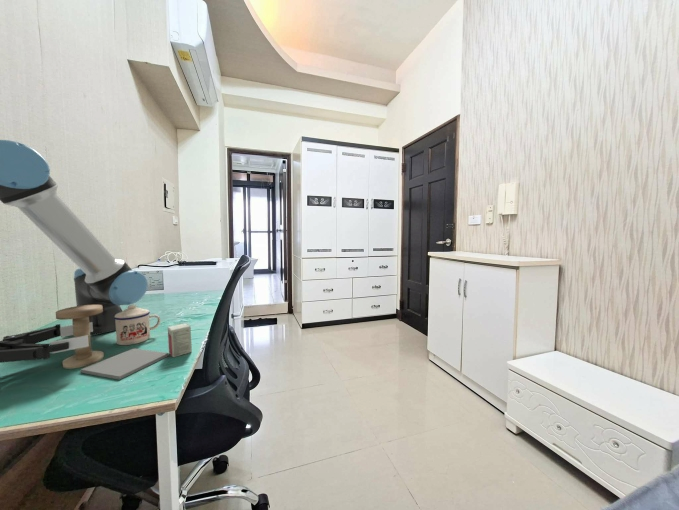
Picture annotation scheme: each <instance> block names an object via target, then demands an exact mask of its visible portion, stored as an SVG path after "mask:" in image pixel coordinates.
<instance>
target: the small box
mask: <svg viewBox="0 0 679 510" xmlns="http://www.w3.org/2000/svg"><path fill="white" fill-rule="evenodd" d="M191 331H192V328H191V325H190V324H188V323H187V322H186V323H185V322H184V323H181V324H175V325H172V326H167V338H168V341H167V342H168V354H169V355H170V356H171V358H176V357H179V356H183V355H186V354H190V353H192V332H191Z"/></svg>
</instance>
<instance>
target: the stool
mask: <svg viewBox="0 0 679 510" xmlns="http://www.w3.org/2000/svg"><path fill="white" fill-rule="evenodd" d="M102 312H103V306H102V305H83V306H77V305H76V306H71V307H66V308H61V309H59V310H57V311H55V319H57V320H62V321H63V320H71V321H72V324H73V335H72V336H73V338H75V337H80V336H86V335H88V344H89V346H88V347H83V348H78V349H74V355H71V356H69V357H67V358H65V359H64V360H62V368H63V369H67V370H68V369H69V370H70V369H79V368H83V367H84V368H85V367H88V366H91V365H93V364H96V363H98V362H101V361H103V360H104V352H103V351H102V350H92V341H91V335H90V325H89V316H93V315H96V314H99V313H102Z"/></svg>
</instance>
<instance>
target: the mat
mask: <svg viewBox="0 0 679 510" xmlns="http://www.w3.org/2000/svg"><path fill="white" fill-rule="evenodd" d="M169 355H170V353H169V352H163V351H155V350H149V349H148V350H147V349H143V348H135V347H133V348H131V349H128V350H126V351H123V352H121V353H118V354H116V355H114V356H111V357H108V358H106V359H102V360H100V361H98V362H96V363H94V364H91V365H88V366H85V367H84V368H83V367H82V368H81V369H80V374H81V373H82V374H87V375H90V376H91V375H93V376H98V377H103V378H109V379H114V380H119V381H120V380H122V379H124V378H126V377H129V376H130V375H132V374H134V373H137V372H139V371H141V370H143V369H145V368H147V367H149V366H151V365H153V364H155V363H157V362H159V361H161V360H163V359H165V358H167V357H169Z"/></svg>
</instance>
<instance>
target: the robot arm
mask: <svg viewBox="0 0 679 510" xmlns="http://www.w3.org/2000/svg"><path fill="white" fill-rule="evenodd" d="M50 170H51V169H50V166H49V164H48V162H47V160H46V159H45V158H44V156H42V155H41V153H39V152H38V151H36V150H35V149H34V148H32V147H30V146H28V145H26V144H24V143H20V142H17V141H14V140H9V139H8V140H7V139H0V202H1V203H3V205H6V206H11V207H16V208H18V209H19V210H20V211H21V212H22V213H23V214H24V215H25V216H26V217H27V218H28V219H29V220H30V221H31V222H32V224H34V225H35V226H36V227H37V228H38V229H39V230H40V231H41V232H43V234H44V235H45V236H46V237H47V238H49V240H50V241H51V242H52V243H54V245H55V246H56V247H58V248H59V249H60V251H61V252H63V253H64V254H65V256H67V257H68V258H69V259H70V260H71V261H72V262H73V263H74V264H75V265H76V266H77V267H78V269H75V271H74V275H73V281H74V289H75V290H74V293H75V303H76V306H83V305H102V306H103V312H102V313H99V314H96V315H93V316H89V325H90V336H94V335H95V336H96V335H100V334H105V333H106V334H107V333H110V332H115V331H116V323H115V319H114V317H115V315H116V314H117V313H120V312H122V311H123V309H122V306H129V305H134V304H135V303H137V302H139V301H140V300H141V299H143V298H144V296H145V294H146V293H147V288H148V283H149V282H148V279H147V277H146V276H145V275H144V274H143V273H141V272H139V271H138V270H133V269H132V267H130V265H128V263H127V262H126V261H125V260H124V259H123V258H122V259H120V258H115V257H114V256H113V255H112V253H111V252H110V251H109V250H108V248H106V247H105V246H104V244H102V242H100V240H99V239H98V237H96V236H95V235H94V233H93V232H92V231H91V230H90V229H89V228H88V227H87V226H86V224H85V223H84V222H83V221H82V220H81V219H80V218H79V217H78V216H77V214H76V213H75V212H74V211H73V210H72V209H71V208H70V207H69V205H67V203H66V202H65V201H64V200H63V198H61V197H60V196H59V194H58V193H57V190H58V183H56V181H55V180H54V179H53V178H52V177H51V175H50V172H51V171H50ZM69 336H74V335H73V323H72V324H71V325H65V326H61V324H59V323H58V324H55V325H53V326H49V327H45V328H44V327H43V328H41V329H36V330H32V331H27V332H23V333H18V334H12V335H6V336H3V338H2V340H0V364H1V363H12V362H13V363H14V362H24V361H33V360H35V361H36V360H41V359H43V360H47V359H49V358H51V354H57V353H61V352H62V353H63V352H67V351H71V350H75V349H78V348H83V347H88V346H89V344H88V335H86V336H80V337H75V338H74V337H69ZM59 337H60V338H65V337H69V338H65V339H59V340H53V339H54V338H59ZM49 340H52V341H50V342H49V343H42V342H44V341H49Z"/></svg>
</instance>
